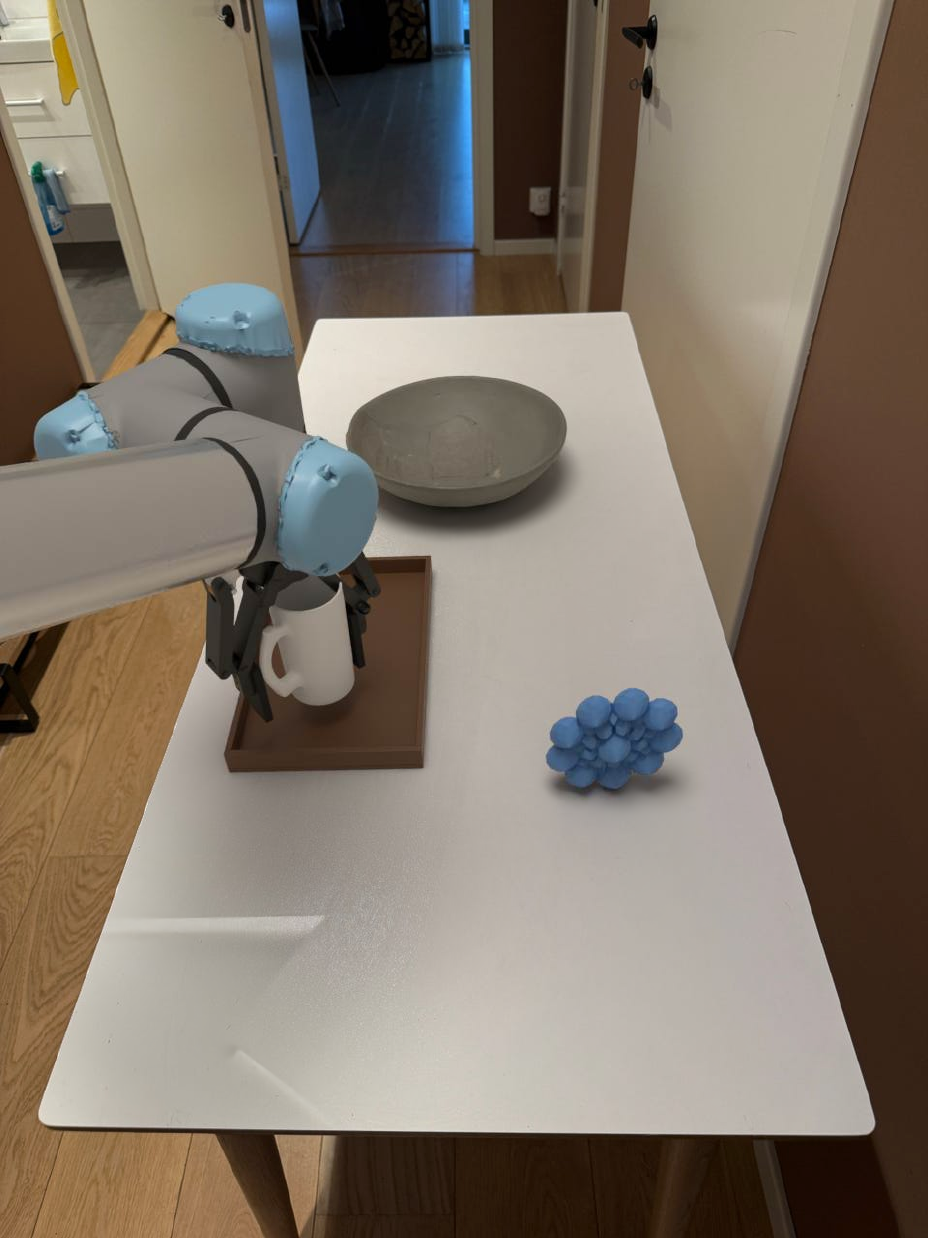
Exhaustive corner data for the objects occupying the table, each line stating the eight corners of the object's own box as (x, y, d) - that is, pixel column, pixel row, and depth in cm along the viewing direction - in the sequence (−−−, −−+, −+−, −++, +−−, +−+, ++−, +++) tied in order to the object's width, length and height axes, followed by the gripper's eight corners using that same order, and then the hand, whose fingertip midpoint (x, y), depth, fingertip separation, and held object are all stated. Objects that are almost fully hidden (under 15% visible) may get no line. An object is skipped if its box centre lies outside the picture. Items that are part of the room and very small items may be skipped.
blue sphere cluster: (666, 746, 87) (681, 653, 79) (678, 805, 82) (696, 711, 74) (542, 749, 87) (544, 656, 79) (546, 807, 82) (550, 715, 74)
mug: (319, 649, 93) (300, 555, 85) (371, 674, 90) (357, 579, 82) (249, 712, 87) (222, 617, 79) (303, 741, 84) (281, 645, 76)
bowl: (406, 415, 136) (401, 362, 130) (589, 447, 127) (593, 392, 122) (314, 516, 117) (304, 459, 112) (521, 562, 108) (522, 503, 103)
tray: (423, 768, 86) (421, 750, 84) (228, 772, 86) (223, 754, 85) (432, 572, 108) (431, 555, 106) (277, 576, 108) (273, 559, 106)
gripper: (355, 420, 80) (380, 614, 95) (115, 524, 70) (185, 723, 85) (408, 453, 76) (426, 651, 91) (159, 569, 66) (225, 770, 80)
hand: (309, 685), depth 88 cm, fingers closed on mug, 10 cm apart
